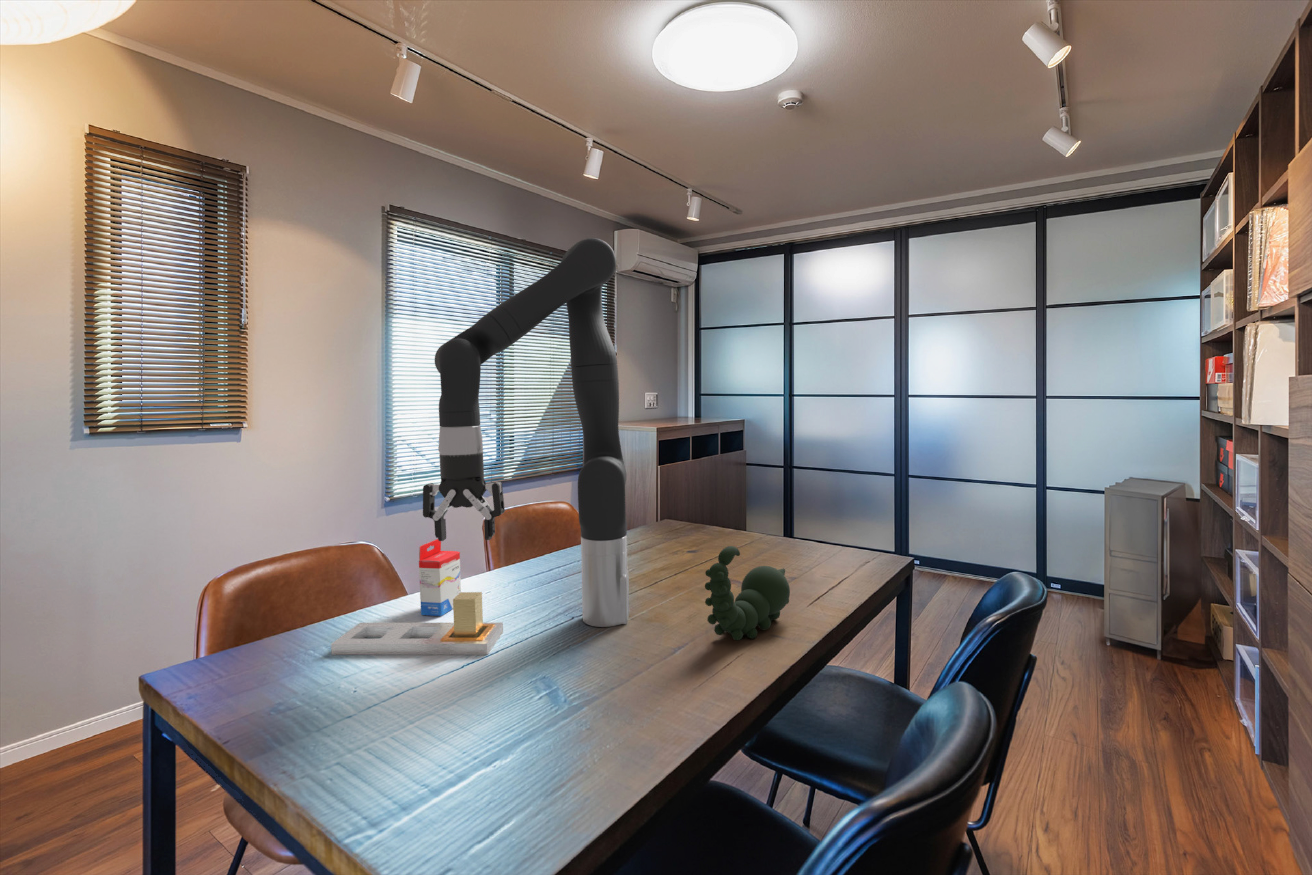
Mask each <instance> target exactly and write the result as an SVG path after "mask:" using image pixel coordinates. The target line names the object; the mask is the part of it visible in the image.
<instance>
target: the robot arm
mask: <svg viewBox="0 0 1312 875" xmlns="http://www.w3.org/2000/svg"><path fill="white" fill-rule="evenodd" d="M616 267H617V257H616V254H615V251H614V250H613V248H612V247H611V246H610V244H609V243H608V242H606V241H604V240H603V239H600V238H598V237H597V238H594V237H590V238H588V237H587V238H585V239H581V240H579V241H578V242H576V243H575V244H574V245H572V246H571V247H570V248H569V249H568V250H567V251H566V252H565V253H564V254H563V256H562V259H561V261H560V263H558V264H557V265H556V266H555V267H554V268H553V269H551V270H550V271H549V272H547V273H546V274H545V275H544V276H542V277H541V278H540V279H538V280H536V281H535V282H533V283H532V284H530V285H529V286H526V287H525V288H523V289H522V290H520V291H519V292H517V293H516V294H514V295H512V296H510V297H509V298H508V299H505V300H504V301H503V302H502V303H500V304H498V305H497V306H496V307H495V308H493V309H492V310H490V311H489V312H487V313H486V314H484V316H482V317H480V318H479V320H478V321H476V322H475V323H474V324H472V325H471V326H470V327H468V328H467V329H465V330H463V331H461V332H460V333H458V334H457V335H455V336H453V337H452V338H451V339H449V340H447V341H446V342H445V343H443V344H442V345H440V347H438V348H437V350H436V352H435V355H434V366H435V368H436V370H437V372H438V373H439V376H440V378H439V379H440V392H441V394H440V398H439V400H438V416H439V417H438V420H439V433H438V452H439V471H440V474H439V475H440V483H439V484H435V483H432V482H430V483H426V484H425V485H423V487H422V516H423V517H424V518H425V519H427V518H428V519H431V520H433V522H434V525H433V526H434V536H435V538H437V539H438V541H441V542H443V541H445V540H446V539H447V522H446V518H444V517H445V516H446V514H447V513H448V511H449V510H450V509H451V508H452V507H453V509H455V508H456V509H457V508H461V507H463V508H472V507H474V508H475V510H477V511H478V512H479V513H480V514H481V515H482V516H483V517H484V518H485V519H484V520H483V524H484V526H483V527H484V529H483V530H484V540H485V541H490V540H491V539H492V538H493V537H494V536H495V535H496V520H495V519H496V518H497V517H500V516H501V515H503V514H504V513H505V511H506V509H505V501H504V499H505V498H504V491H503V483H502V482H501V481H496V482H492V483H490V482H489V483H486V481H485V472H484V471H485V470H484V468H485V467H484V448H483V446H484V445H483V443H484V442H483V434H482V430H481V413H480V412H481V411H480V410H481V409H480V402H479V397H480V396H479V394H480V387H481V386H480V385H481V374H482V371H481V368H482V367H481V366H482V365H483V364H484V363H485V362H487V361H488V360H490V358H492V357H493V356H495V355H496V354H498V353H501V352H503V351H505V350H506V349H508V348H509V347H511V346H513V344H515V343H516V342H517V341H519V340H521V338H523V337H524V336H525V335H527V334H528V333H530V332H531V331H532V330H533V329H534V328H536V327H537V326H538V325H539V324H540V323H542V322H543V321H544V320H546V319H547V318H548V317H549V316H551V315H552V314H553V313H554V312H555V311H557V310H558V309H560V308H561V307H562V306H564V305H565V304H566V311H567V315H568V316H567V317H568V334H569V335H568V337H569V350H570V370H571V383H572V390H573V396H574V401H575V404H576V405H575V406H576V409H577V412H578V413H577V414H578V417H579V421H580V423H581V427H582V434H583V466H582V467H581V469H580V471H579V473H578V476H577V477H578V478H577V504H578V505H577V506H578V507H577V508H578V523H579V527H580V554H581V556H580V557H581V558H580V560H581V562H580V563H581V564H580V565H581V598H582V601H581V602H582V603H581V604H582V607H581V608H582V621H583V623H585V624H586V625H589V626H592V627H596V628H597V627H598V628H605V627H606V628H607V627H614V626H618V625H627V624H628V621H629V616H630V590H629V588H630V586H629V584H630V583H629V582H630V581H629V579H630V578H629V576H630V575H629V569H628V537H627V536H628V534H627V532H628V531H627V530H628V529H627V526H628V525H627V524H628V523H627V516H626V513H627V512H626V483H627V470H626V466H625V462H624V458H623V457H624V456H623V452H622V445H621V439H620V432H619V431H620V430H619V417H620V383H619V382H620V381H619V370H618V369H619V367H618V359H617V358H618V357H617V353H616V349H615V347H614V344H613V341H612V338H611V336H610V333H609V330H608V328H607V325H606V322H605V319H604V318H605V317H604V312H603V296H602V295H603V293H602V291H603V286H604V285H605V284H607V283H608V282H609V281H610V280H611V278H612V277H613V275H614V273H615V272H616ZM486 491H488V493H489V495H490V496H492V502H493V508H492V507H491V505H490V504H489V502H488V501H487V500H486V498H485V497H484V494H485V493H486ZM438 493H439V494H441V496H443V498H444V499H443V500H442V501H441V503H440V505H439V506H438V509H436V510H435V505H436V504H435V503H436V502H435V499H436V498H435V496H437V495H438Z"/></svg>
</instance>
